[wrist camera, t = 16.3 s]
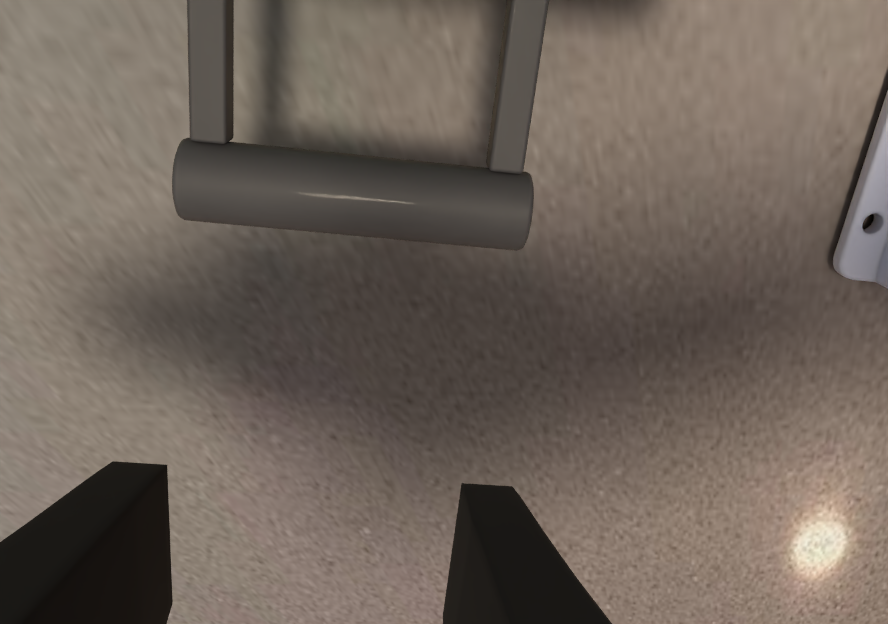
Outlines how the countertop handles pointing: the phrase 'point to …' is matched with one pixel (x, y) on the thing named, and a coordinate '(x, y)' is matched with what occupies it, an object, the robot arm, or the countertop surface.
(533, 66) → the drawer
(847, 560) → the countertop surface
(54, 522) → the robot arm
